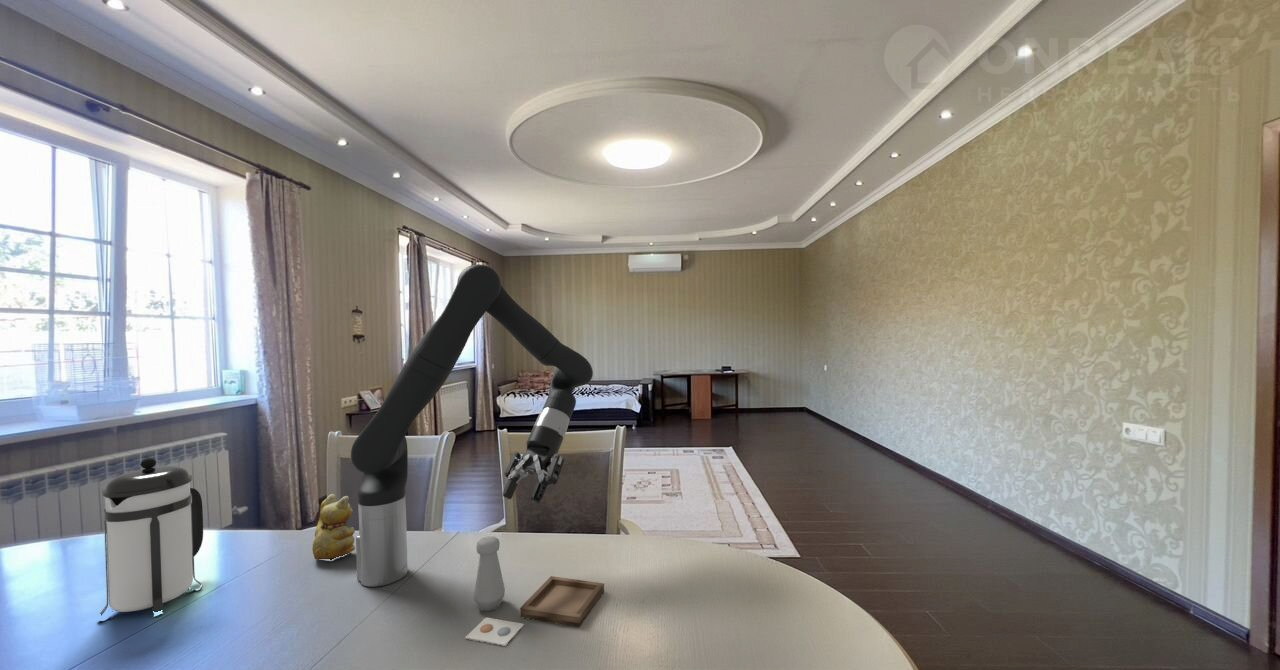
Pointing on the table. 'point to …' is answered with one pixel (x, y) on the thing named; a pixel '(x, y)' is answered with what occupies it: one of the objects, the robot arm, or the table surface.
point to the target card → (494, 631)
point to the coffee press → (150, 536)
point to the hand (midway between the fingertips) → (520, 499)
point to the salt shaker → (488, 575)
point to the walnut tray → (563, 601)
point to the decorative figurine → (333, 529)
